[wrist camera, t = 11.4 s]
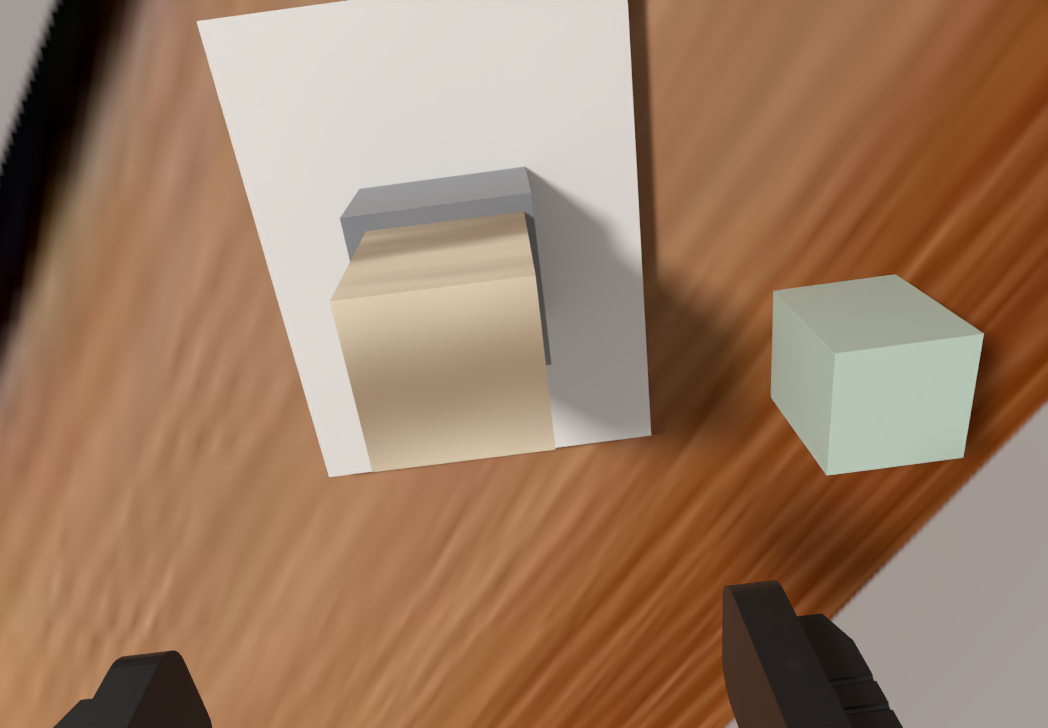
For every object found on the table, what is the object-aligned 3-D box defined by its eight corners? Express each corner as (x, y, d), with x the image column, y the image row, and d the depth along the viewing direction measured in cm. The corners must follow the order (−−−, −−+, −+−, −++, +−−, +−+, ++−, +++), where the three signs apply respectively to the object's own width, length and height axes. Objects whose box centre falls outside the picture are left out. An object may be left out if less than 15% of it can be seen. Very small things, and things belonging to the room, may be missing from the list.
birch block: (365, 231, 23) (329, 300, 18) (524, 211, 23) (535, 274, 18) (396, 372, 25) (372, 472, 20) (540, 354, 25) (555, 449, 20)
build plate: (206, 20, 25) (145, 25, 20) (620, -37, 25) (650, -45, 20) (333, 464, 33) (309, 537, 28) (646, 423, 33) (672, 490, 28)
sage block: (773, 290, 30) (835, 353, 25) (895, 274, 30) (984, 333, 25) (770, 396, 32) (826, 475, 27) (884, 381, 32) (963, 457, 27)
